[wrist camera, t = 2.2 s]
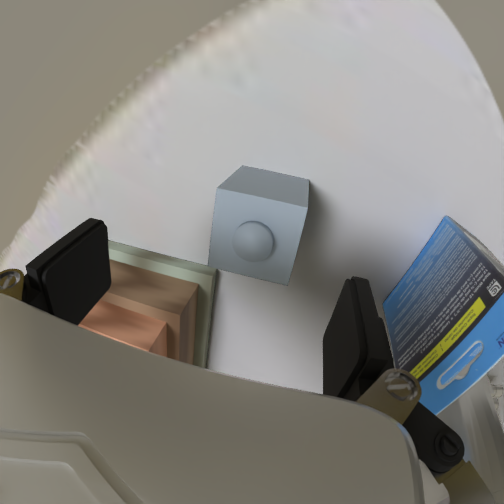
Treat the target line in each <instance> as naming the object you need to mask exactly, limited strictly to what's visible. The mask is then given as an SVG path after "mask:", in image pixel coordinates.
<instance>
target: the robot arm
mask: <svg viewBox="0 0 504 504" xmlns="http://www.w3.org/2000/svg"><path fill="white" fill-rule="evenodd" d="M26 270H27V274H26V275H25V276H24V274H23V272H22V271H21V270H19V269H7V270H4V271H2V272H0V504H504V431H503V427H502V424H501V421H500V418H499V415H498V413H497V408H498V400H497V398H492V397H501V396H502V394H503V391H504V388H503V386H502V385H491V383H490V380H489V378H488V376H487V374H486V375H485V376H484V377H482V378H481V379H480V380H479V381H478V382H477V383H476V384H475V385H473V386H472V387H471V388H470V389H469V390H467V391H466V392H465V393H464V394H463V395H461V396H460V397H459V398H458V399H456V400H455V401H454V402H453V403H452V404H450V405H449V406H448V407H446V408H445V409H444V410H443V411H441V412H440V413H439V414H437V415H434V414H433V413H432V412H431V411H430V410H429V409H427V408H426V407H425V406H424V405H423V404H421V403H420V402H419V400H420V397H421V395H422V389H421V386H420V383H419V382H418V380H417V379H416V378H415V377H414V376H413V375H412V374H411V373H409V372H407V371H405V370H402V369H396V368H395V364H394V360H393V358H392V354H391V350H390V346H389V341H388V337H387V333H386V330H385V326H384V322H383V320H382V318H380V317H378V314H377V310H376V306H375V302H374V299H373V295H372V291H371V288H370V284H369V281H368V280H367V279H363V278H359V277H354V276H353V277H352V278H351V280H349V279H347V280H346V281H345V284H344V286H343V289H342V291H341V294H340V297H339V299H338V302H337V304H336V307H335V309H334V312H333V314H332V317H331V319H330V322H329V324H328V326H327V329H326V331H325V334H324V337H323V394H318V393H313V392H308V391H303V390H298V389H293V388H287V387H282V386H277V385H273V384H268V383H264V382H259V381H254V380H250V379H245V378H241V377H237V376H233V375H229V374H225V373H221V372H217V371H213V370H209V369H205V368H202V367H198V366H195V365H191V364H188V363H184V362H181V361H177V360H174V359H171V358H167V357H164V356H161V355H158V354H155V353H151V352H148V351H145V350H142V349H139V348H136V347H133V346H131V345H128V344H125V343H122V342H119V341H116V340H114V339H111V338H108V337H106V336H103V335H100V334H98V333H95V332H92V331H90V330H87V329H85V328H82V327H80V326H78V325H79V324H80V323H81V321H82V320H83V319H84V318H85V317H86V315H87V314H88V313H89V312H90V311H91V309H92V308H93V307H94V306H95V305H96V304H97V302H98V301H99V300H100V299H101V298H102V297H103V295H104V294H105V293H106V292H107V291H108V290H109V288H110V286H111V282H112V280H111V270H110V260H109V247H108V232H107V226H106V225H105V224H104V222H103V221H102V220H98V219H93V218H89V219H88V220H86V221H85V222H83V223H82V224H80V225H79V226H78V227H76V228H75V229H73V230H72V231H71V232H69V233H68V234H66V235H65V236H64V237H62V238H61V239H60V240H58V241H57V242H56V243H54V244H53V245H52V246H50V247H49V248H48V249H46V250H45V251H44V252H42V253H41V254H40V255H39V256H37V257H36V258H35V259H33V260H32V261H31V262H30V263H28V264H27V265H26ZM481 351H482V350H481ZM481 351H480V352H481ZM480 352H479V353H478V354H477V355H476V356H475V357H474V358H473V359H472V360H471V361H473V360H474V359H475V358H476V357H477V356H478V355H479V354H480ZM471 361H470V362H471ZM470 362H469V363H468V364H467V365H466V366H465V367H464V368H463V369H462V370H461V371H460V372H459V373H458V374H457V375H459V376H463V375H465V374H466V373H467V371H468V369H469V364H470ZM457 375H456V376H457Z"/></svg>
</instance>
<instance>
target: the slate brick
mask: <svg viewBox="0 0 504 504" xmlns="http://www.w3.org/2000/svg"><path fill="white" fill-rule="evenodd" d="M308 195H309V180H308V179H304V178H299V177H295V176H290V175H286V174H281V173H277V172H272V171H267V170H263V169H258V168H253V167H248V166H243V165H242V166H241V167H240V168H239V169H238V170H237V171H236V172H234V173H233V174H232V175H231V176H230V177H229V178H228V179H227V180H225V181H224V182H223V183H222V184H221V185H220V186H219V187H218V188H217V191H216V199H215V207H214V215H213V223H212V231H211V240H210V249H209V258H208V267H212V268H216V269H220V270H224V271H228V272H232V273H236V274H241V275H245V276H249V277H253V278H257V279H261V280H265V281H270V282H274V283H278V284H282V285H287V286H288V283H289V279H290V276H291V272H292V268H293V264H294V261H295V257H296V253H297V249H298V245H299V242H300V238H301V234H302V230H303V226H304V222H305V218H306V214H307V210H308Z"/></svg>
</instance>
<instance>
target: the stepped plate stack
mask: <svg viewBox="0 0 504 504" xmlns="http://www.w3.org/2000/svg"><path fill="white" fill-rule="evenodd" d="M108 247H109V260H110V270H111V280H112V282H111V286H110V288H109V290H108V291H107V292H106V293H105V294H104V295H103V297H102V298H101V299H100V300H99V301H98V302H97V304H96V305H95V306H94V307H93V308H92V309H91V311H90V312H89V313H88V314H87V315H86V317H85V318H84V319H83V320H82V321H81V323H80V324H79V325H78V326H80V327H82V328H85V329H87V330H90V331H92V332H95V333H98V334H100V335H103V336H106V337H108V338H111V339H114V340H116V341H119V342H122V343H125V344H128V345H131V346H133V347H136V348H139V349H142V350H145V351H148V352H151V353H155V354H158V355H161V356H164V357H167V358H171V359H174V360H177V361H181V362H184V363H188V364H191V365H195V366H198V367H202V368H205V369H206V360H207V350H208V341H209V332H210V323H211V314H212V305H213V296H214V288H215V280H216V272H217V269H216V268H212V267H208V266H206V265H202V264H198V263H194V262H190V261H186V260H182V259H178V258H174V257H170V256H166V255H162V254H158V253H154V252H151V251H147V250H143V249H139V248H135V247H132V246H128V245H124V244H120V243H117V242H113V241H109V240H108Z"/></svg>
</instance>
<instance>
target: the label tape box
mask: <svg viewBox="0 0 504 504" xmlns="http://www.w3.org/2000/svg"><path fill="white" fill-rule="evenodd" d="M383 309H384V314H385V318H386V323H387V328H388V333H389V338H390V343H391V348H392V353H393V359H394V364H395V368H396V369H402V370H405V371H407V372H409V373H411V374H412V375H413V376H414V377H415V378H416V379H417V380H418V382H419V383H420V386H421V389H422V395H421V397H420V400H419V402H420V403H421V404H423V405H424V406H425V407H426V408H427V409H429V410H430V411H431V412H432V413H433V414H434V415H437V414H439V413H440V412H441V411H443V410H444V409H445V408H446V407H448V406H449V405H450V404H452V403H453V402H454V401H455V400H456V399H458V398H459V397H460V396H461V395H463V394H464V393H465V392H466V391H467V390H469V389H470V388H471V387H472V386H473V385H475V384H476V383H477V382H478V381H479V380H480V379H481V378H482V377H484V376H485V375H486V374H487V373H488V372H489V371H490V370H491V369H492V368H493V367H494V366H495V365H496V364H497V363H498V362H499V361H500V360H501V359H502V358H503V357H504V266H503V265H502V264H501V262H500V261H499V260H498V259H497V258H496V257H495V256H494V255H493V254H492V253H491V252H490V251H489V250H488V248H487V247H486V246H485V245H484V244H482V243H481V242H480V241H479V240H478V239H477V238H476V237H475V236H473V235H472V234H471V233H469V232H468V231H467V230H466V229H464V228H463V227H462V226H461V225H459V224H458V223H457V222H455V221H454V220H453V219H451V218H450V217H449V216H445V217H444V218H443V220H442V222H441V223H440V225H439V226H438V228H437V229H436V231H435V232H434V234H433V235H432V237H431V238H430V240H429V241H428V243H427V244H426V246H425V247H424V249H423V250H422V251H421V253H420V254H419V256H418V257H417V259H416V260H415V261H414V263H413V264H412V266H411V267H410V268H409V270H408V271H407V273H406V274H405V275H404V277H403V278H402V279H401V281H400V282H399V283H398V285H397V286H396V287H395V289H394V290H393V291H392V292H391V294H390V295H389V296H388V298H387V299H386V300H385V302H384V303H383ZM481 350H482V351H481ZM480 351H481V352H480ZM479 352H480V354H479V355H478V356H477V357H476V358H475V359H474V360H473V361H471V360H472V359H473V358H474V357H475V356H476V355H477V354H478V353H479ZM470 361H471V362H470ZM469 362H470V364H469V369H468V371H467V373H466V374H465V375H463V376H459V375H457V374H458V373H459V372H460V371H461V370H462V369H463V368H464V367H465V366H466V365H467V364H468V363H469ZM456 375H457V376H456Z"/></svg>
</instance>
